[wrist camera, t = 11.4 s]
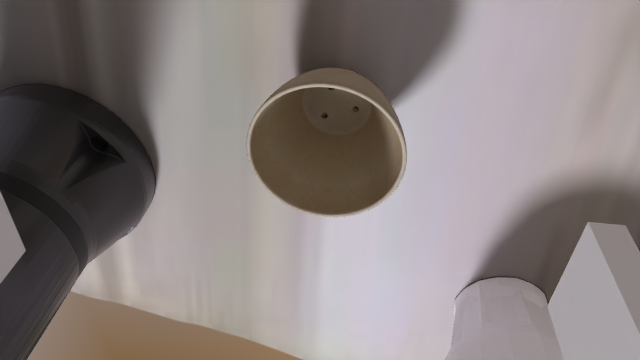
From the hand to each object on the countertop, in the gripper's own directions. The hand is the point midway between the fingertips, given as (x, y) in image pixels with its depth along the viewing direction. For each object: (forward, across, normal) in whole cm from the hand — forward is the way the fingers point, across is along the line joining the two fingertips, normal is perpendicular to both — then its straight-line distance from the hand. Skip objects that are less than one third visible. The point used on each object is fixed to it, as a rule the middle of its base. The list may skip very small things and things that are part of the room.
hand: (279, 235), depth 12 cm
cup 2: (+25, +17, -30) cm, 43 cm away
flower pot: (+25, 0, -10) cm, 27 cm away
